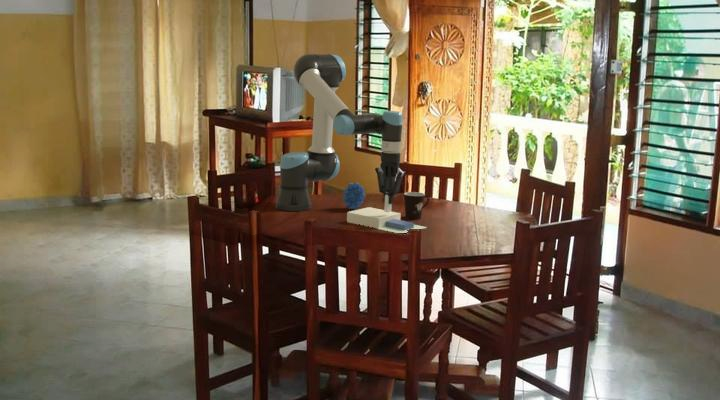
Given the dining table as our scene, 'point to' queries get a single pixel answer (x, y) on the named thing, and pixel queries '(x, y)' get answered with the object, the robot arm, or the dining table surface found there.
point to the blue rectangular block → (399, 224)
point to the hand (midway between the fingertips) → (387, 211)
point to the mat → (399, 229)
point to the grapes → (354, 195)
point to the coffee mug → (414, 204)
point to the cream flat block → (371, 217)
